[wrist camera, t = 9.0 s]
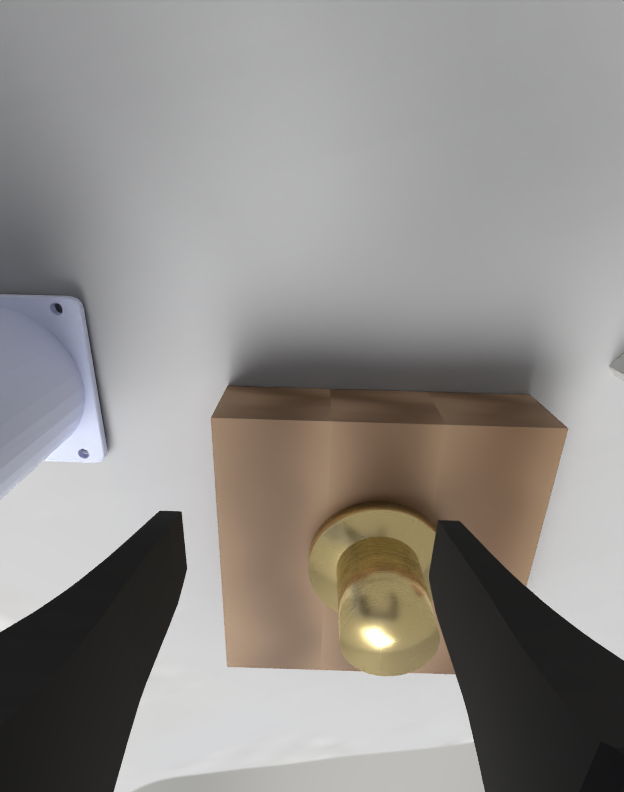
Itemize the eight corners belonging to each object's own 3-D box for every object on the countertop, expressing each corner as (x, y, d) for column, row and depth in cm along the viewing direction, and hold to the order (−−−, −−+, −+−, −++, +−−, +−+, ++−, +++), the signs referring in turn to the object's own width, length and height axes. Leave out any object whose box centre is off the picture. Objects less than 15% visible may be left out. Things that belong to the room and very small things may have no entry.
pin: (310, 560, 24) (306, 696, 18) (310, 463, 22) (306, 575, 15) (422, 562, 24) (462, 699, 18) (434, 464, 22) (485, 578, 15)
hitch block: (238, 610, 26) (227, 666, 23) (227, 385, 21) (210, 417, 18) (480, 618, 26) (502, 675, 23) (530, 394, 21) (568, 428, 18)
